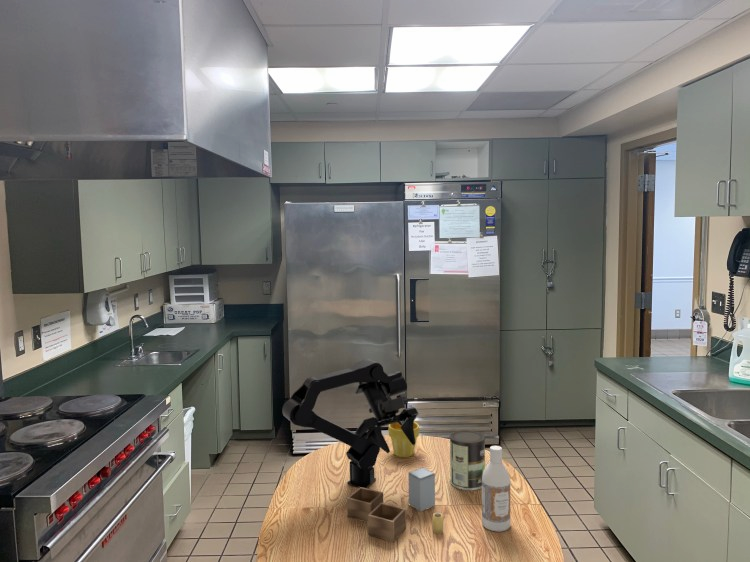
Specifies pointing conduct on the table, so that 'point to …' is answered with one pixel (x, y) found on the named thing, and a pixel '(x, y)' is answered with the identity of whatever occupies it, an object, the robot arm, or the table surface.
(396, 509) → the box
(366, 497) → the box
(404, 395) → the robot arm
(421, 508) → the pale grey square pillar
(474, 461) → the coffee can
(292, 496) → the table surface
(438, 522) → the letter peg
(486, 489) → the bath foam
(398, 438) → the plant pot
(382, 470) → the table surface
